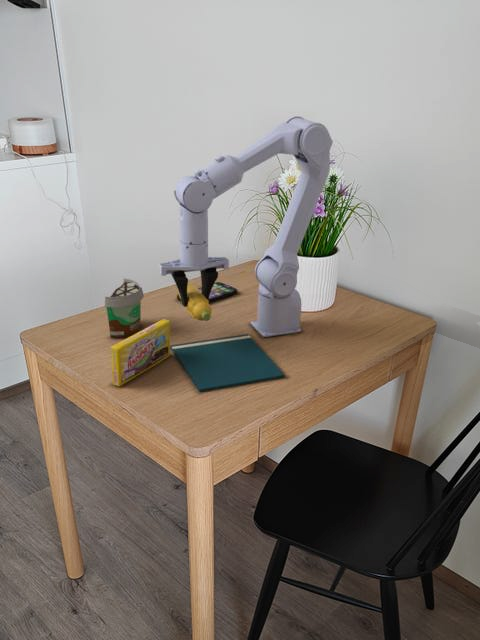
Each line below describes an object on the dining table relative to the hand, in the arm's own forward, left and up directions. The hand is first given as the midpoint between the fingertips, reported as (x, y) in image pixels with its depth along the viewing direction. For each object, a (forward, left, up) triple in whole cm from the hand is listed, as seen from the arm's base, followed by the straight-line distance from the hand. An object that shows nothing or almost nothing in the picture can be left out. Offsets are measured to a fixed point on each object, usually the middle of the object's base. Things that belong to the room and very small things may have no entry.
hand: (194, 303), depth 135 cm
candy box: (+14, +10, -9) cm, 19 cm away
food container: (+12, -9, -9) cm, 18 cm away
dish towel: (-3, +12, -9) cm, 15 cm away
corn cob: (0, 0, -2) cm, 2 cm away
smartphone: (-11, -23, -9) cm, 27 cm away
